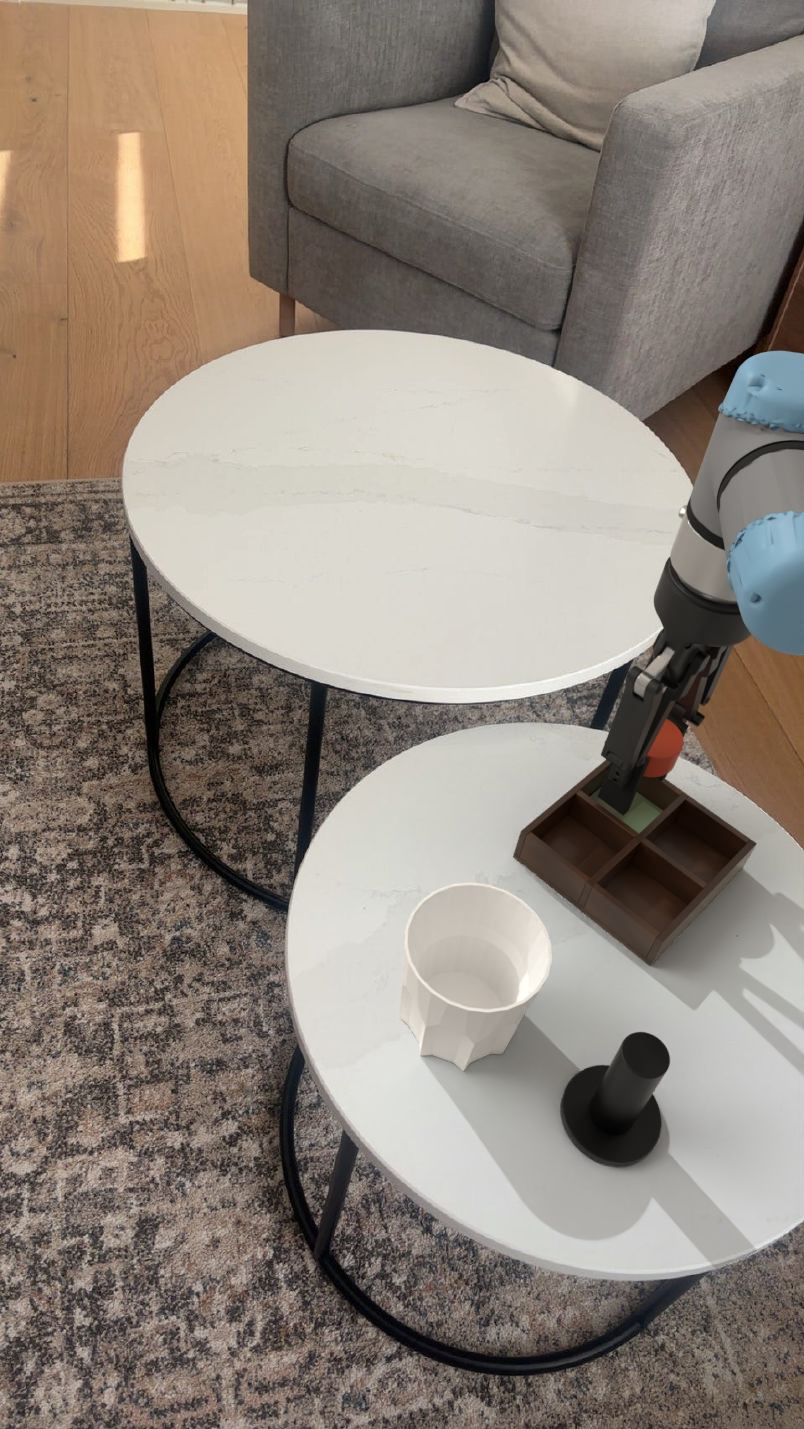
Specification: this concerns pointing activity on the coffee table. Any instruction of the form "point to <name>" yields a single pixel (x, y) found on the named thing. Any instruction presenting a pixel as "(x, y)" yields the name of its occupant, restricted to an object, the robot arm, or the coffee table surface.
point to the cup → (471, 970)
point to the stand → (617, 1103)
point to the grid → (634, 859)
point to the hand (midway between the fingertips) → (632, 786)
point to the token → (664, 750)
